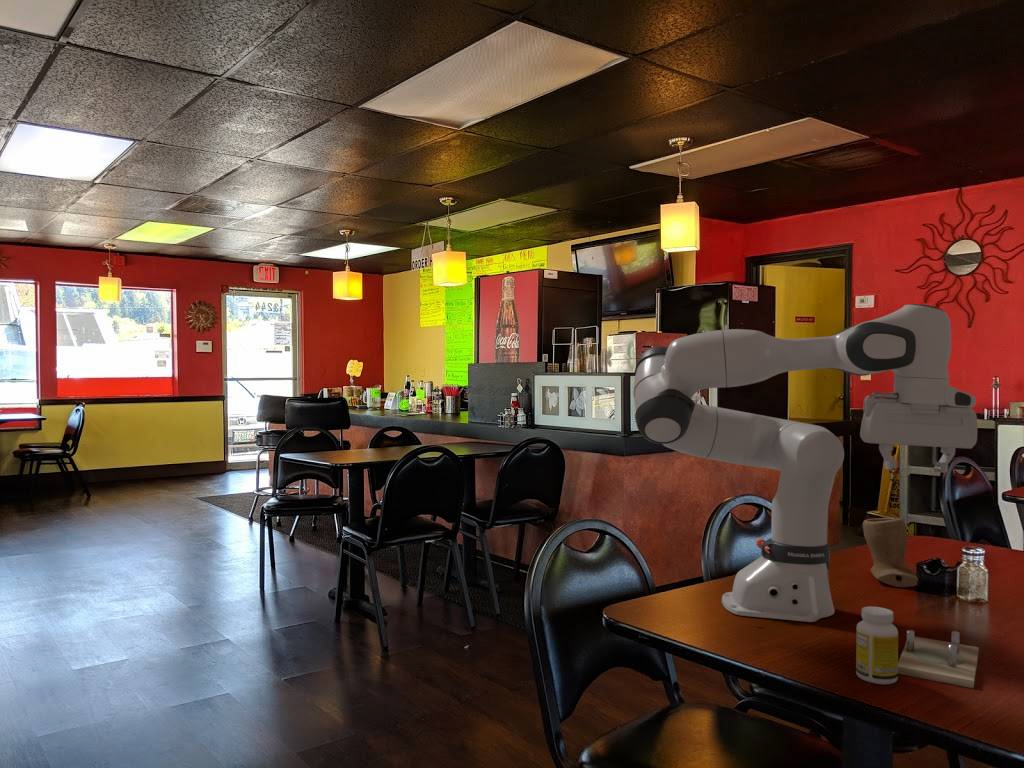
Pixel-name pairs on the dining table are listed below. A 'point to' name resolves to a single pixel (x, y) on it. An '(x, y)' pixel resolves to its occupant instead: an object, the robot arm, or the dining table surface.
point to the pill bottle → (877, 646)
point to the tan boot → (889, 551)
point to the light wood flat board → (939, 662)
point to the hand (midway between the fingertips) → (915, 470)
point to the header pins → (952, 648)
